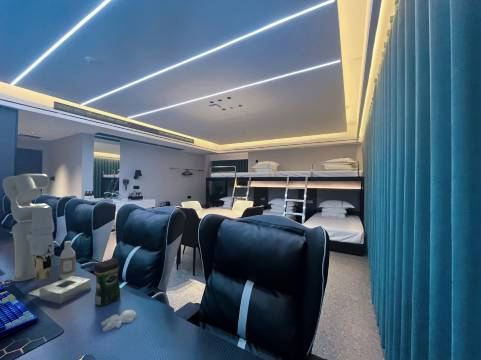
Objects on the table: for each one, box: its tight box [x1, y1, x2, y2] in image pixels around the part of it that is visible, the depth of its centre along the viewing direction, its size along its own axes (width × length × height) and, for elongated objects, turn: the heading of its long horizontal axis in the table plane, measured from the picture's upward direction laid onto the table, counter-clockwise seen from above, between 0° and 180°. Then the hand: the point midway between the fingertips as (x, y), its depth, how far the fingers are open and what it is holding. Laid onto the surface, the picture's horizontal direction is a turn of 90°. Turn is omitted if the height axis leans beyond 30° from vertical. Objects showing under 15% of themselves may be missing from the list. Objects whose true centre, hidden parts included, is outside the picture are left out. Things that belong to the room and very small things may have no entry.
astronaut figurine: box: [100, 309, 137, 332], centre depth 84 cm, size 9×12×3 cm
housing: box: [38, 275, 92, 305], centre depth 104 cm, size 14×14×4 cm
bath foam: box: [59, 240, 77, 280], centre depth 121 cm, size 7×7×20 cm
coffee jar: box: [93, 257, 121, 307], centre depth 97 cm, size 10×8×19 cm
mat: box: [27, 284, 49, 298], centre depth 106 cm, size 8×8×1 cm
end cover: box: [35, 255, 51, 280], centre depth 105 cm, size 5×5×10 cm
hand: (43, 267), depth 105 cm, fingers closed on end cover, 5 cm apart
